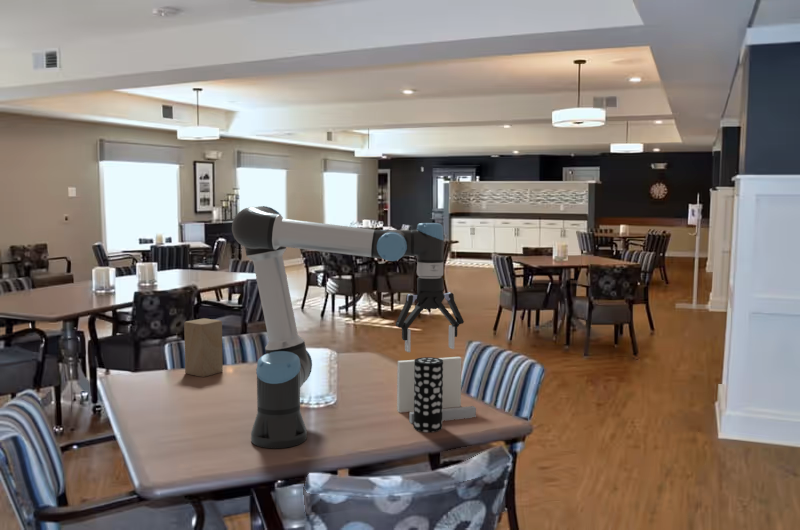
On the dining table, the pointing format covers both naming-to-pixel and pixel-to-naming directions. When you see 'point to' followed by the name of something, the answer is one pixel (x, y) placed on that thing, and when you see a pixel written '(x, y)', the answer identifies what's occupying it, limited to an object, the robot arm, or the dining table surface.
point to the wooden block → (203, 347)
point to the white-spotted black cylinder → (428, 394)
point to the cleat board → (449, 390)
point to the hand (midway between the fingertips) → (429, 349)
